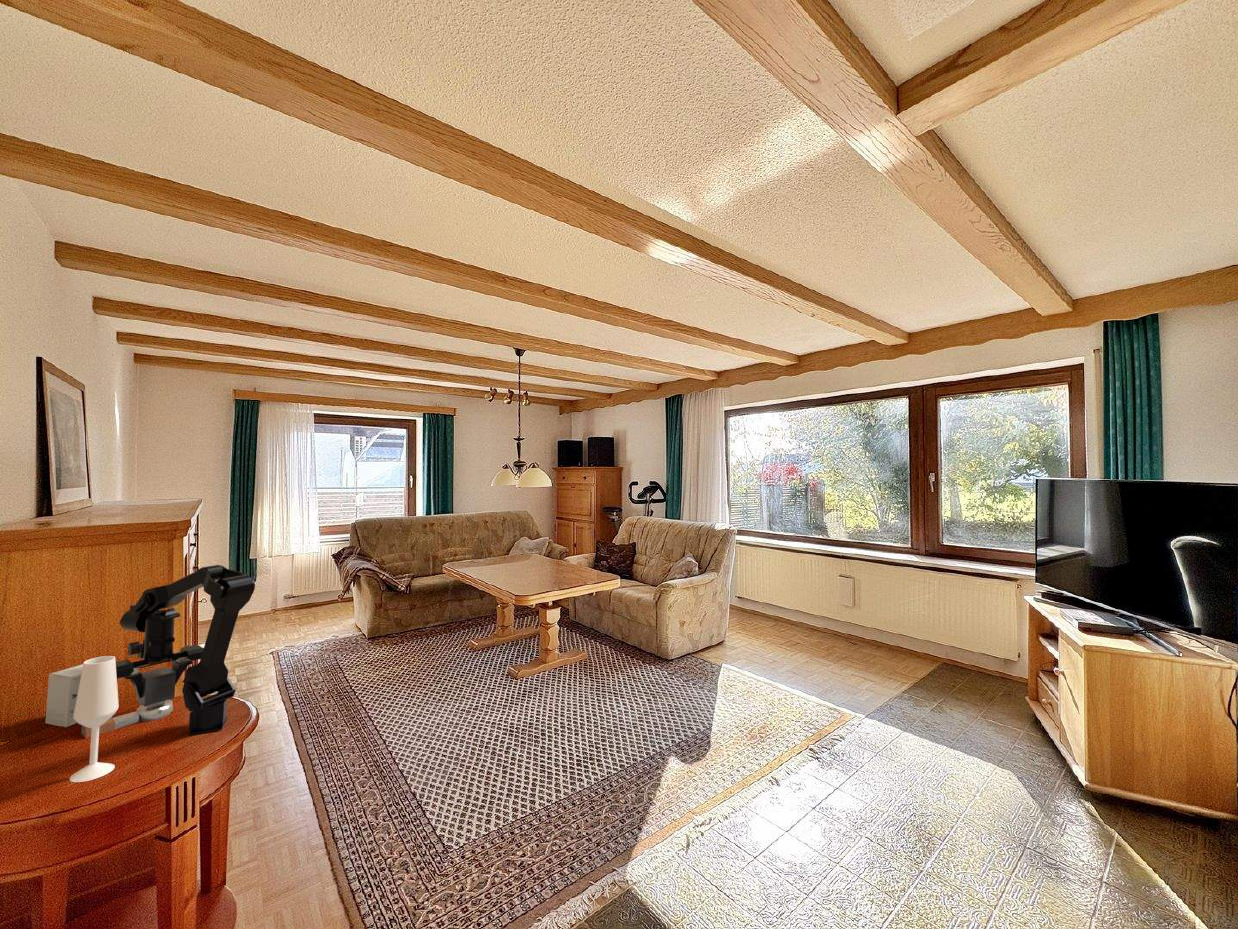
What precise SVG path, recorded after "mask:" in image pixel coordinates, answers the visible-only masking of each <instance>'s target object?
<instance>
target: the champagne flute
mask: <svg viewBox="0 0 1238 929" xmlns="http://www.w3.org/2000/svg"><path fill="white" fill-rule="evenodd" d="M116 662H117V661H116V656H113V655H105V656H97V657H93V658H90V659H87V660H85V661H84V662H83V663H82V664H83V669H82V674H81V679H80V684H79V690H78V695H77V700H76V705H75V710H74V716H73V717H74V719H75V721H76V722H77V723H76V724H79V725H81V726H82V725H83V726H85V727H87V728H92V730H91V737H90V746H89V748H90V749H89V750H90V751H89V764H87V765H86V766H84V767H83V768H81V769H80V770H78V771H76V772H75V773H74V774H72V775H71V776H70V777H69V781H70V782H71V783H81V782H82V783H83V782H88V781H92V780H95V779H98V778H102V777H103V776H106V775H107V774H109V773H111V772H112V771H113V770H115V768H116V767H115V764H113V763H110V762H99V761H98V757H99V739H100V734H99V726H101V725H103V724H104V723H105V722H106V721H107V720H109V719H110V718H111V717H112V718H113V716H114V715H115V714H116V712H117V711H118V709H119V692H118V690H119V688H118V679H117V675H116Z"/></svg>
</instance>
